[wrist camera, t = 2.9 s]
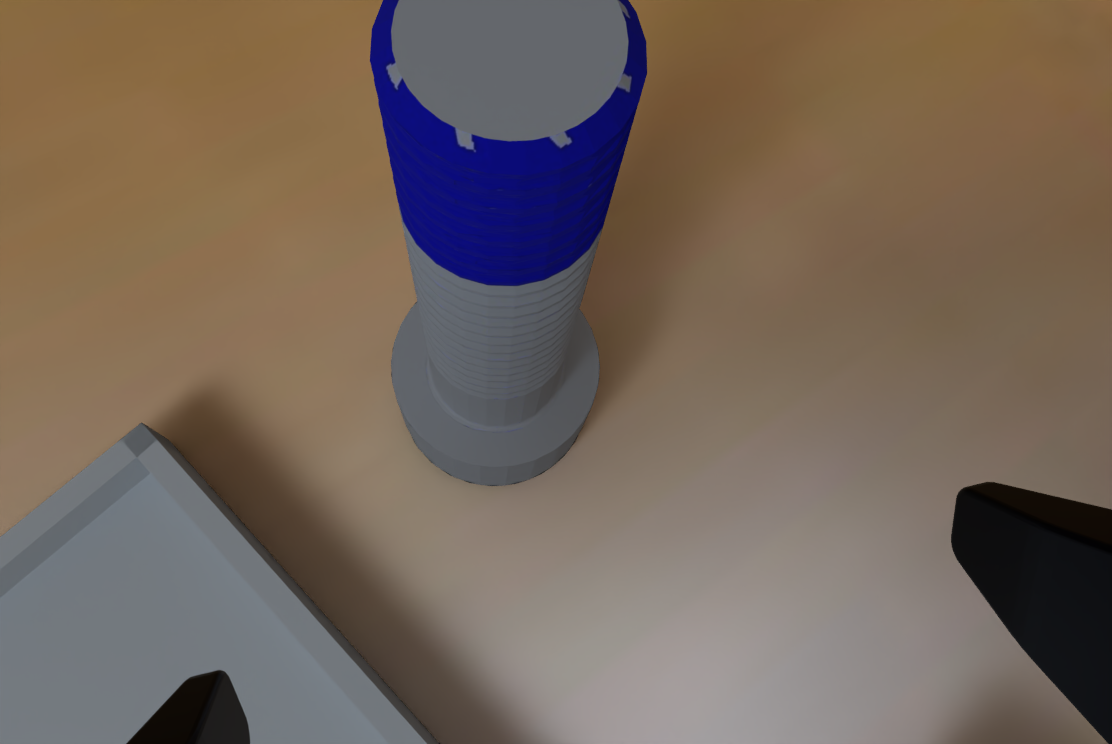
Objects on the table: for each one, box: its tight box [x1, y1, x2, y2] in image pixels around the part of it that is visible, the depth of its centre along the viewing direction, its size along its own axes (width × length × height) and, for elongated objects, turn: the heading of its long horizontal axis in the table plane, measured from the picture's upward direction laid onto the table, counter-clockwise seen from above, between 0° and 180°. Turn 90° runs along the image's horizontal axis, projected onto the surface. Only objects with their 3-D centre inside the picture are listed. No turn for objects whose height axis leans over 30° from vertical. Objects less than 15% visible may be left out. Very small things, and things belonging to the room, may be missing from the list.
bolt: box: [370, 0, 647, 486], centre depth 18 cm, size 16×5×5 cm
